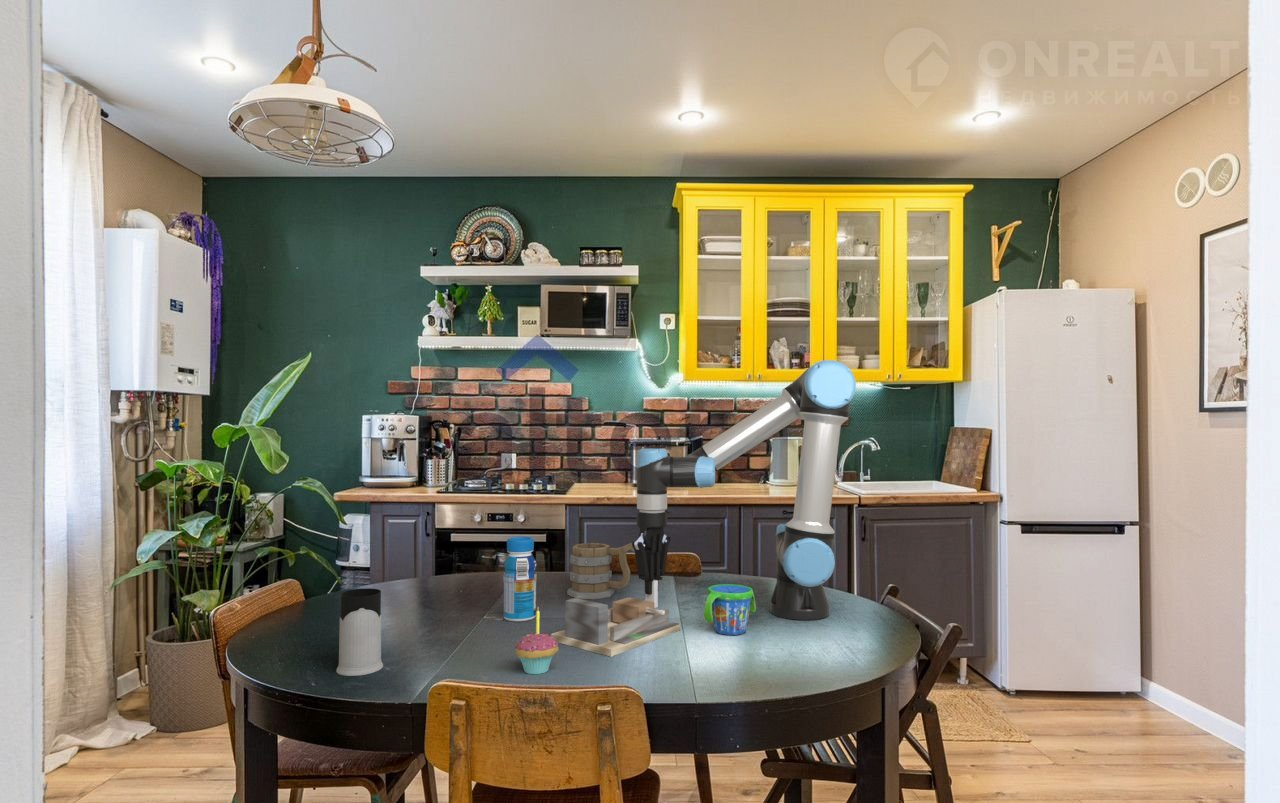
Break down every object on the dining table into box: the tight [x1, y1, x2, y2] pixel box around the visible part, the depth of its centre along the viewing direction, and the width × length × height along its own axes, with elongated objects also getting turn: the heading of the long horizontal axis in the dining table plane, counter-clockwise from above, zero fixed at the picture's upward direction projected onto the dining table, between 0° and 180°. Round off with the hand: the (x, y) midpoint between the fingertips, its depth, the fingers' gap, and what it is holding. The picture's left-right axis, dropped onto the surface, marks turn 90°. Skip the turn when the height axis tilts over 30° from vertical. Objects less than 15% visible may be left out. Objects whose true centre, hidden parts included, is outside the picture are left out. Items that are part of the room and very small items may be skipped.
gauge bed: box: [550, 597, 681, 658], centre depth 164 cm, size 18×25×10 cm
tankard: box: [566, 542, 635, 601], centre depth 204 cm, size 20×13×15 cm, turn 80°
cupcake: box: [514, 606, 560, 675], centre depth 140 cm, size 9×8×12 cm
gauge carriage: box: [612, 596, 665, 623], centre depth 167 cm, size 13×6×5 cm, turn 51°
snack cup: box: [703, 583, 757, 636], centre depth 167 cm, size 16×10×10 cm
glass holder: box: [335, 587, 384, 677], centre depth 144 cm, size 9×14×15 cm, turn 24°
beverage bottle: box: [502, 536, 538, 623], centre depth 179 cm, size 8×8×20 cm
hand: (651, 606), depth 174 cm, fingers closed
